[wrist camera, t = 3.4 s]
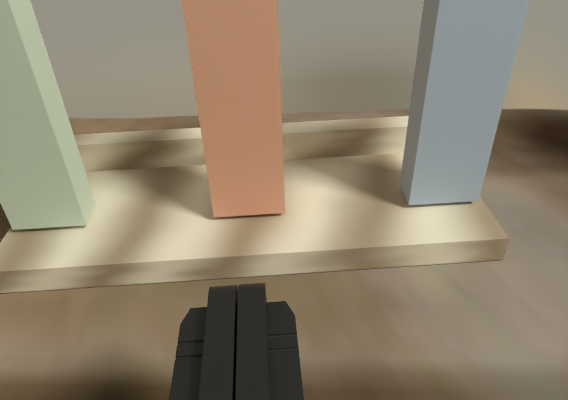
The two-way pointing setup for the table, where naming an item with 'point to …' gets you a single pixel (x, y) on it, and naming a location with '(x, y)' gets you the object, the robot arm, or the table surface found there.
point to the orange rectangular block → (238, 102)
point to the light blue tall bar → (458, 96)
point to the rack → (249, 228)
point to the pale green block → (36, 132)
